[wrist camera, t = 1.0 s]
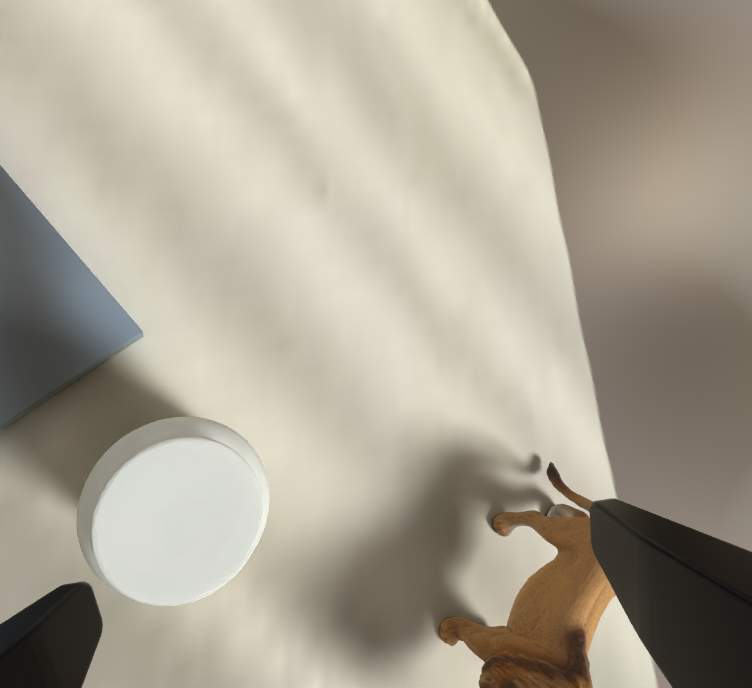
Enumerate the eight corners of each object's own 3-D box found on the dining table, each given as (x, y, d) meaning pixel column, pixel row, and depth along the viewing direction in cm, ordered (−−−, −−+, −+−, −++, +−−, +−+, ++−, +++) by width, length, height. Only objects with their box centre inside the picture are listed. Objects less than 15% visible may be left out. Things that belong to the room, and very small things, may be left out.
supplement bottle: (264, 482, 22) (331, 508, 13) (168, 582, 19) (175, 694, 11) (180, 398, 21) (194, 367, 12) (70, 492, 19) (-7, 534, 10)
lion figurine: (483, 749, 24) (649, 909, 16) (401, 709, 22) (537, 859, 14) (572, 482, 29) (729, 498, 21) (511, 438, 28) (653, 436, 20)
